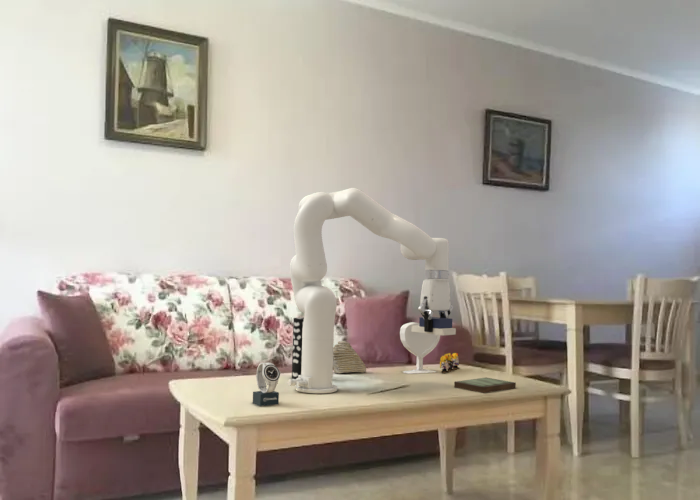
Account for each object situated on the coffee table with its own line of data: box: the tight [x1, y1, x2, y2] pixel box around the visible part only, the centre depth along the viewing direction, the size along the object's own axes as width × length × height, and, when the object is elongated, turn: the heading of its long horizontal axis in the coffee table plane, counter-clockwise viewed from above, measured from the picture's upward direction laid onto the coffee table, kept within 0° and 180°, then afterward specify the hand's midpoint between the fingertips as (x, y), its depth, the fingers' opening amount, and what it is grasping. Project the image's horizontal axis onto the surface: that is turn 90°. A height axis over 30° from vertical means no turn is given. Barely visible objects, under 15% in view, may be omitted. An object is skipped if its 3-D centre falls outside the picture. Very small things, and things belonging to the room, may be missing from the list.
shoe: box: [411, 316, 457, 336], centre depth 220 cm, size 14×6×5 cm, turn 40°
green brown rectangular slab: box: [454, 377, 517, 394], centre depth 217 cm, size 16×12×2 cm
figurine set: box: [439, 352, 461, 374], centre depth 253 cm, size 3×16×7 cm, turn 151°
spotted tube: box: [291, 317, 304, 379], centre depth 227 cm, size 8×8×20 cm
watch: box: [252, 361, 282, 407], centre depth 183 cm, size 6×8×11 cm
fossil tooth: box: [333, 340, 367, 375], centre depth 241 cm, size 12×6×15 cm
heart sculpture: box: [399, 321, 441, 375], centre depth 248 cm, size 16×5×18 cm, turn 117°
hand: (435, 330), depth 219 cm, fingers closed on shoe, 6 cm apart
